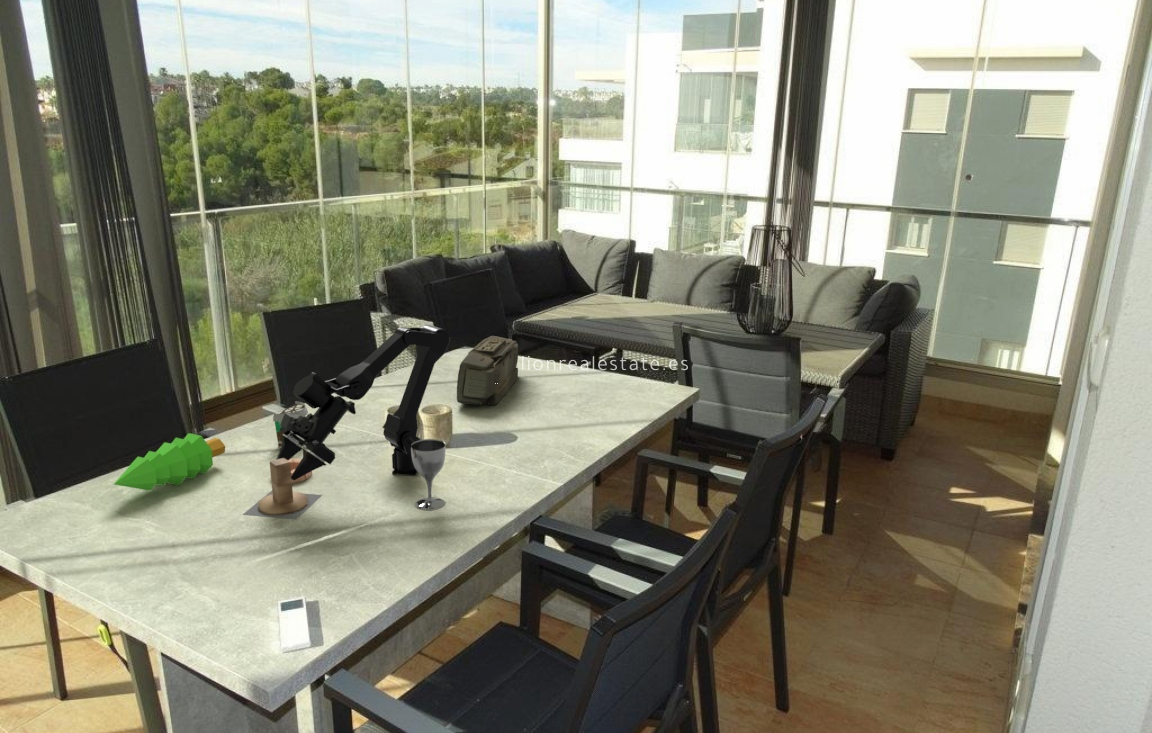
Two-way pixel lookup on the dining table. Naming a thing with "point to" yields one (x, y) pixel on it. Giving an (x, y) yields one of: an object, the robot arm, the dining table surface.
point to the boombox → (488, 371)
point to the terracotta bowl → (293, 466)
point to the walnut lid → (282, 491)
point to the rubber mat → (256, 512)
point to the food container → (297, 410)
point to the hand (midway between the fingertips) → (283, 473)
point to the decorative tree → (172, 462)
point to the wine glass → (428, 468)
